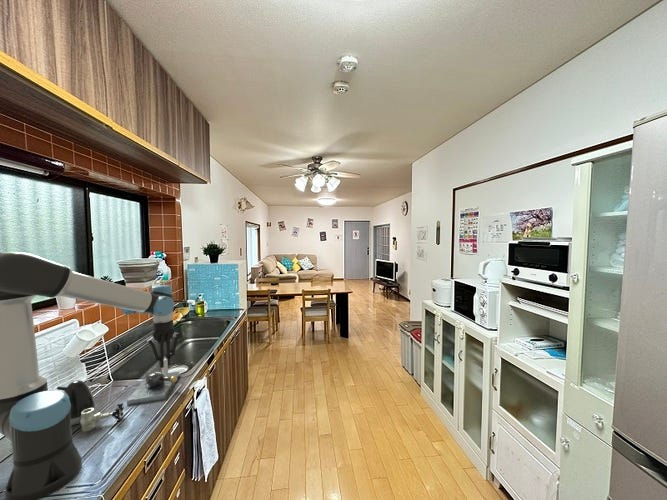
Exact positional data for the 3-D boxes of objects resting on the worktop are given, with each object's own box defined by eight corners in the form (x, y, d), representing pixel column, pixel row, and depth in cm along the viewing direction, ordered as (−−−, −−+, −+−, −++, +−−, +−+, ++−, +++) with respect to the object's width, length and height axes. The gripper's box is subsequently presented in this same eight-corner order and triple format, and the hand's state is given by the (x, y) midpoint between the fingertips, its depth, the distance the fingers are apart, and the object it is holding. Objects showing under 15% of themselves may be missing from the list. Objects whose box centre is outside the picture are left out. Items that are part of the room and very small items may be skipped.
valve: (77, 435, 99) (119, 425, 104) (76, 417, 99) (118, 408, 104) (85, 424, 105) (124, 415, 110) (83, 407, 105) (123, 399, 110)
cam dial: (182, 382, 130) (181, 370, 130) (170, 390, 123) (169, 378, 123) (154, 379, 134) (153, 368, 133) (141, 387, 127) (140, 375, 126)
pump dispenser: (65, 417, 110) (62, 378, 109) (99, 409, 114) (96, 372, 114) (52, 433, 101) (50, 391, 100) (90, 424, 105) (87, 384, 104)
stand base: (165, 399, 120) (164, 385, 120) (127, 405, 117) (126, 390, 117) (179, 375, 142) (178, 363, 141) (147, 379, 138) (146, 367, 138)
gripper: (175, 316, 132) (177, 366, 132) (143, 322, 122) (145, 376, 122) (182, 318, 127) (184, 370, 128) (149, 325, 117) (151, 382, 118)
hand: (164, 373), depth 125 cm, fingers closed
